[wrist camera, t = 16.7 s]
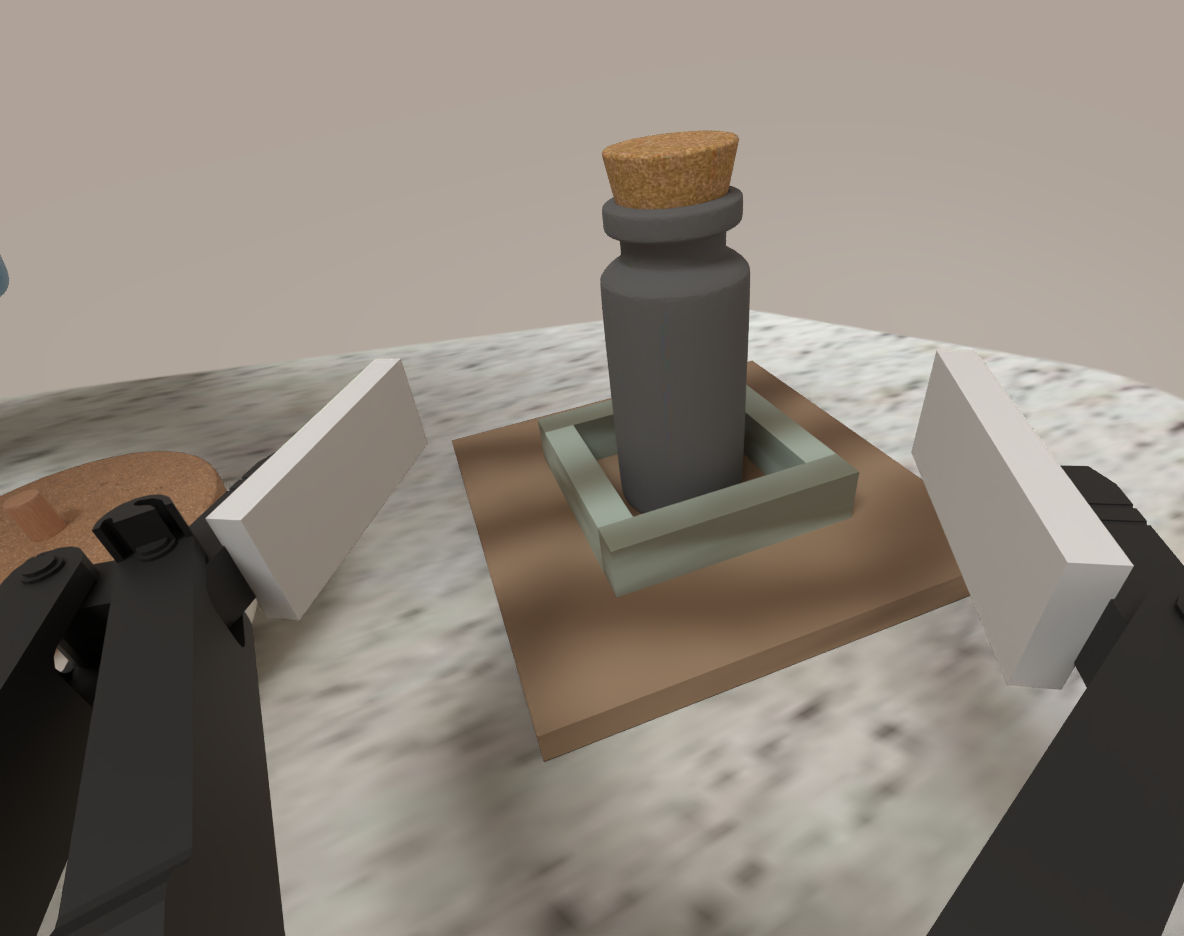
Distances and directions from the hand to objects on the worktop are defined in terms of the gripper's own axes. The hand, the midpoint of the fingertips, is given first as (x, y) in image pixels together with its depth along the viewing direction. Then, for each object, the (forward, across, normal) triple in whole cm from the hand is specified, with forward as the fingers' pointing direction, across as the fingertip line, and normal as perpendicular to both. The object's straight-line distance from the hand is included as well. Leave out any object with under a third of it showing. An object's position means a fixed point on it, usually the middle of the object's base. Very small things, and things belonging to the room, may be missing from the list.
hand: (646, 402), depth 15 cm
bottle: (+10, 0, -11) cm, 15 cm away
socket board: (+10, 0, -12) cm, 16 cm away
